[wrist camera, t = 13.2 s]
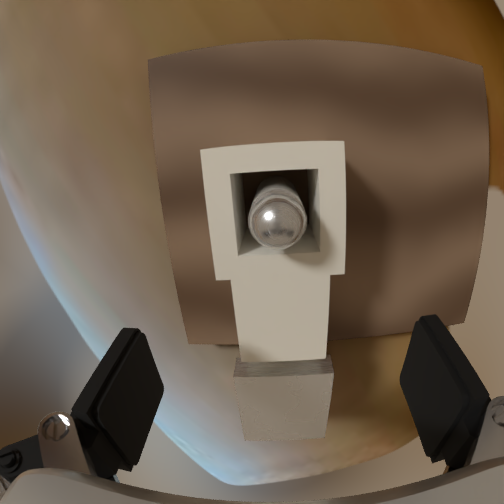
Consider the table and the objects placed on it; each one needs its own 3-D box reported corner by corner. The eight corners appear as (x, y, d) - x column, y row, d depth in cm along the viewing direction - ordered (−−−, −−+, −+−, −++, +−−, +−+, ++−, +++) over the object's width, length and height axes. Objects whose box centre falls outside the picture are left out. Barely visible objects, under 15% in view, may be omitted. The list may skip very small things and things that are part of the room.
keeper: (243, 318, 19) (233, 376, 14) (321, 314, 19) (334, 373, 14) (251, 382, 21) (244, 440, 16) (317, 380, 21) (324, 437, 16)
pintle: (254, 176, 15) (242, 199, 9) (295, 174, 14) (309, 196, 9) (257, 215, 15) (248, 261, 10) (297, 213, 15) (310, 258, 10)
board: (158, 65, 14) (148, 59, 13) (469, 69, 12) (482, 66, 11) (193, 330, 20) (188, 343, 19) (454, 311, 18) (463, 322, 17)
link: (219, 147, 14) (200, 149, 10) (325, 140, 14) (344, 141, 10) (243, 361, 19) (236, 407, 15) (324, 358, 18) (331, 403, 15)
